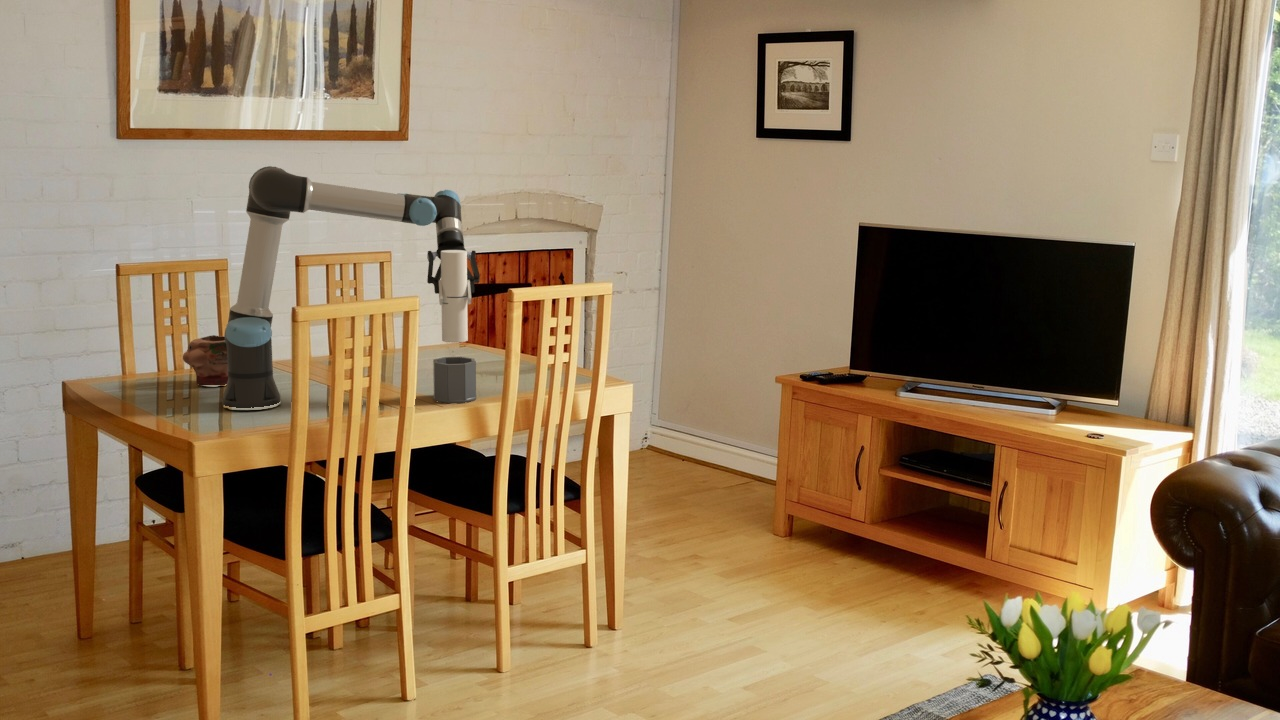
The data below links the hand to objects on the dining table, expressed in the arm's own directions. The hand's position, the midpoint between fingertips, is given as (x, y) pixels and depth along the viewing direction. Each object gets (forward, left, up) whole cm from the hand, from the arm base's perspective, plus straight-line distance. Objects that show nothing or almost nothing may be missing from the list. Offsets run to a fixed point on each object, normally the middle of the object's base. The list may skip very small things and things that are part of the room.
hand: (455, 301), depth 340 cm
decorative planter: (-66, +33, -29) cm, 79 cm away
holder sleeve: (0, +3, -28) cm, 29 cm away
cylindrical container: (0, +3, -12) cm, 12 cm away
